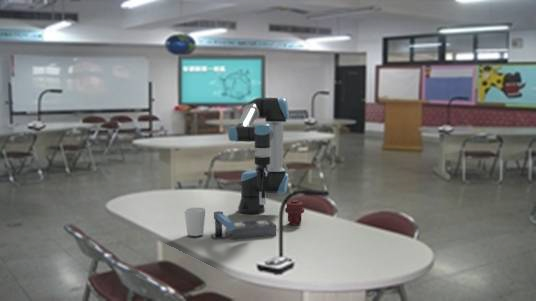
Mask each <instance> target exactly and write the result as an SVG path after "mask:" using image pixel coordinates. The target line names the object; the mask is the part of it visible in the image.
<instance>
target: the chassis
mask: <svg viewBox="0 0 536 301" xmlns="http://www.w3.org/2000/svg"><path fill="white" fill-rule="evenodd" d="M232 222H233V223H234V227H235V230H228V229H227V228H226V227H225V235H226V236H228V237H229V238H230V239H231V240H241V239H243V240H244V239H251V238H264V237H272V236H274V237H275V236H277V225H276V224H275V223H274V222H272V221H271V220H270V219H257V220H247V221H246V220H245V221H244V220H243V221H232Z"/></svg>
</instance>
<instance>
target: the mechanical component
mask: <svg viewBox="0 0 536 301" xmlns="http://www.w3.org/2000/svg"><path fill="white" fill-rule="evenodd" d="M303 206H304V203H303V202H302V201H299V200H298V199H292V200H290V201H288V202H286V207H285V209H284V212H285V213H286V214H287V222H288V223H289V224H291V225H292V226H297V225H300V224H301V223H302V214H303V213H305V208H304V207H303Z"/></svg>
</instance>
